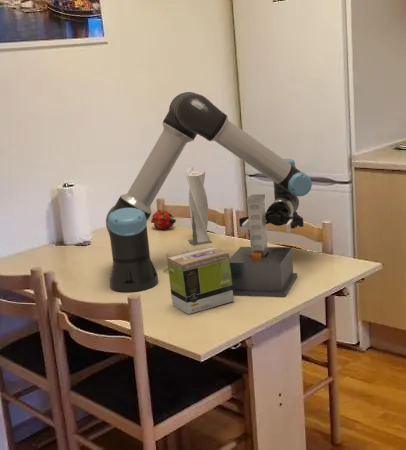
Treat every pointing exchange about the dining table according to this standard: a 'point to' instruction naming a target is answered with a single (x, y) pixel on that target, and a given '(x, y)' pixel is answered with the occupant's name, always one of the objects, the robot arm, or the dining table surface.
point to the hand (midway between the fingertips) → (265, 229)
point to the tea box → (200, 279)
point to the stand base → (262, 272)
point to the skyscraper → (198, 207)
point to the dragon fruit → (162, 219)
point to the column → (257, 224)
